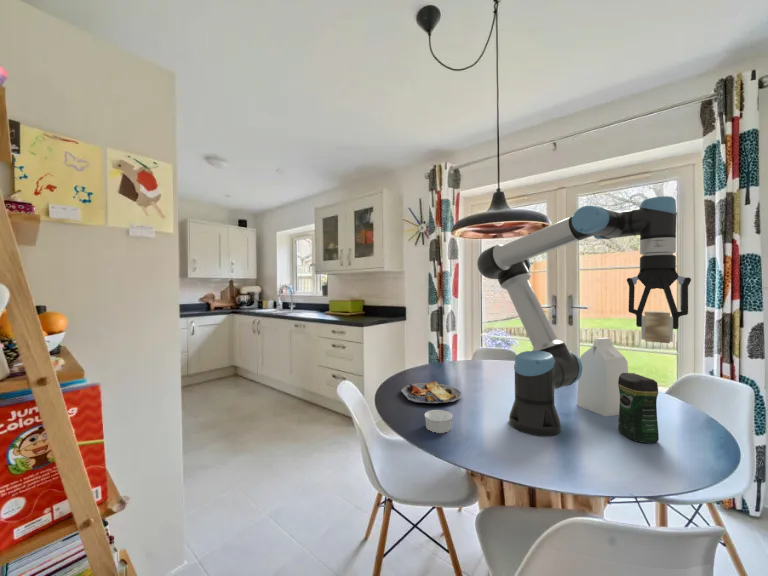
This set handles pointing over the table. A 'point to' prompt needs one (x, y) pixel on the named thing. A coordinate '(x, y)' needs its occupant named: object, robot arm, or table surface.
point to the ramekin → (438, 421)
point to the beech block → (657, 326)
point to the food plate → (436, 389)
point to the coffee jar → (638, 407)
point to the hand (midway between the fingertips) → (656, 339)
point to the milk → (601, 378)
